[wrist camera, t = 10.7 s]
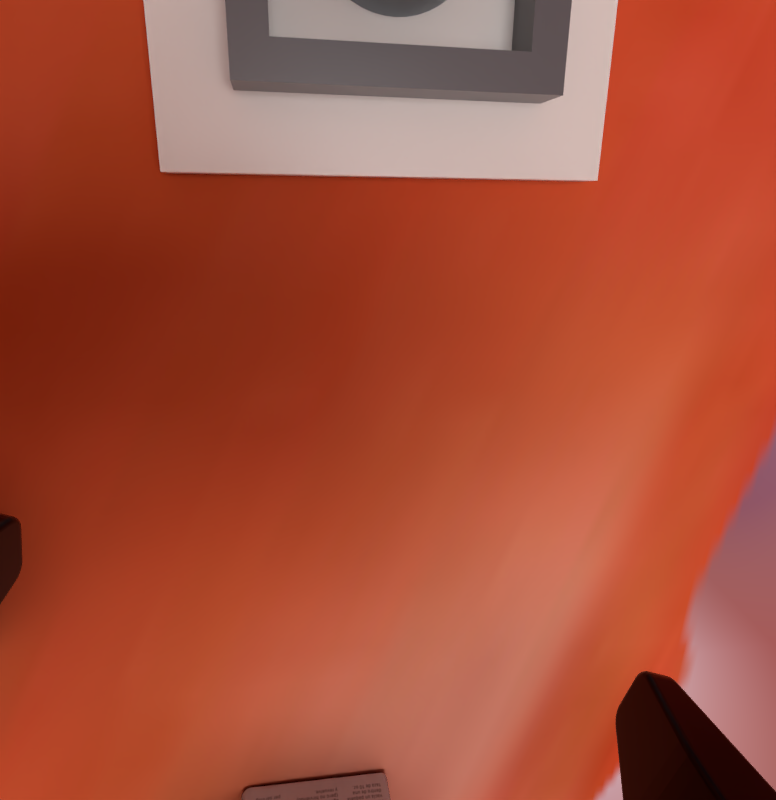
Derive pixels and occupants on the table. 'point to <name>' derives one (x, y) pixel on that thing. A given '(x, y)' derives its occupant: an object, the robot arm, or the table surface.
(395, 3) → the slate post
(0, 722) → the table surface
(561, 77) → the seat board
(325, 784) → the coffee box
